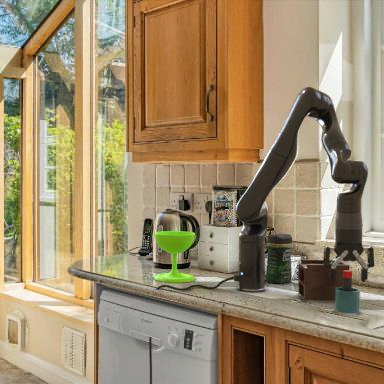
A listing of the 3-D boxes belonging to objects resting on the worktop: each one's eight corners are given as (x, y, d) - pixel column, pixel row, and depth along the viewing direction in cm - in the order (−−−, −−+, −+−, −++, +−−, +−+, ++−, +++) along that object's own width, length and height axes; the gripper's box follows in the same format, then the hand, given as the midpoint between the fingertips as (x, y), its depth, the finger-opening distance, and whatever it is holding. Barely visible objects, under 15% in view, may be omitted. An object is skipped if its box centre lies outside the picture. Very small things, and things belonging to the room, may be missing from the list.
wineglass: (202, 281, 228) (202, 234, 227) (163, 283, 222) (164, 236, 222) (184, 274, 243) (184, 230, 242) (147, 276, 237) (148, 231, 237)
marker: (343, 311, 176) (344, 271, 176) (341, 309, 179) (342, 270, 178) (352, 311, 176) (353, 271, 175) (350, 309, 178) (350, 270, 178)
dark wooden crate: (304, 301, 192) (304, 264, 191) (298, 294, 203) (298, 259, 202) (348, 302, 190) (349, 265, 190) (340, 295, 201) (340, 260, 201)
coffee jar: (278, 284, 220) (279, 235, 220) (262, 281, 227) (262, 233, 226) (295, 282, 226) (296, 233, 225) (279, 279, 232) (280, 231, 232)
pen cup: (337, 315, 174) (338, 291, 174) (332, 309, 181) (332, 286, 181) (362, 315, 173) (362, 292, 173) (355, 310, 180) (356, 287, 180)
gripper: (369, 226, 180) (369, 279, 180) (321, 226, 181) (321, 278, 181) (377, 228, 172) (377, 284, 173) (327, 228, 173) (326, 283, 174)
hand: (348, 281), depth 177 cm, fingers open, 8 cm apart
